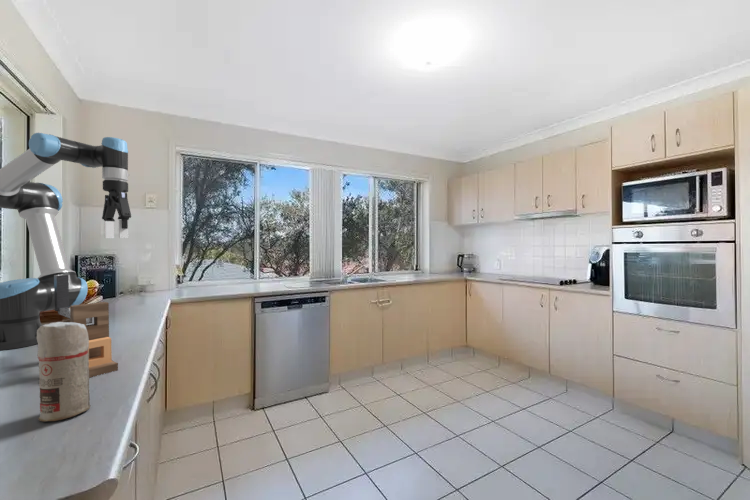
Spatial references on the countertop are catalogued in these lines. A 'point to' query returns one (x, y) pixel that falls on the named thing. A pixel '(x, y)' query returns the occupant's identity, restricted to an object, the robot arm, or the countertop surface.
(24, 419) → the countertop surface
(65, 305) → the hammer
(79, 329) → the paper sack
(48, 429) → the countertop surface
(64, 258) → the robot arm
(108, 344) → the collar
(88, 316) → the rail base
